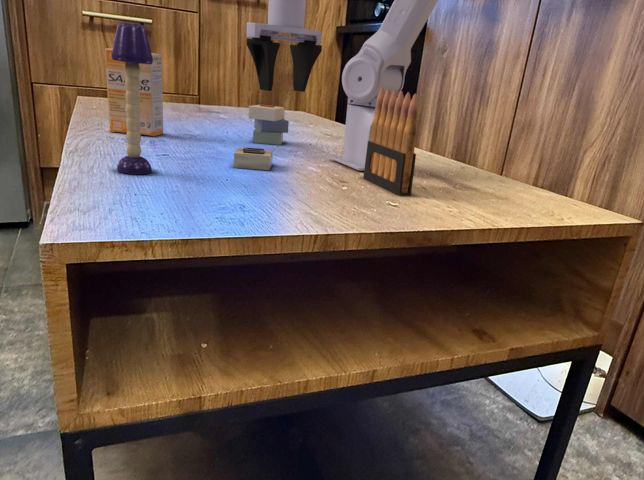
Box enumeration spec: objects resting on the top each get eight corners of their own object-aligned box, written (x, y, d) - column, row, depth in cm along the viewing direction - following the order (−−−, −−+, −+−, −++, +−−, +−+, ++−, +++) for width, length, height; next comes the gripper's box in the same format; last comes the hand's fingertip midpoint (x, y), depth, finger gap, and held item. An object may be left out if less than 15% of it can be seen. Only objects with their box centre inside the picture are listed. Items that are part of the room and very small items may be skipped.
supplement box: (108, 132, 104) (102, 47, 98) (121, 129, 108) (116, 48, 102) (153, 137, 103) (150, 52, 97) (164, 134, 107) (162, 52, 101)
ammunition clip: (362, 177, 85) (373, 86, 80) (374, 177, 86) (385, 87, 80) (398, 195, 76) (412, 93, 71) (411, 195, 77) (426, 94, 72)
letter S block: (269, 170, 84) (269, 154, 83) (233, 167, 84) (234, 150, 83) (272, 164, 89) (272, 148, 88) (238, 161, 88) (238, 145, 87)
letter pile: (286, 146, 106) (288, 108, 103) (247, 142, 106) (248, 105, 103) (288, 141, 112) (290, 105, 110) (251, 137, 112) (252, 102, 109)
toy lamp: (149, 167, 79) (143, 24, 71) (162, 174, 76) (157, 25, 68) (113, 168, 76) (102, 20, 69) (124, 175, 73) (114, 21, 66)
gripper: (301, -1, 99) (296, 89, 105) (233, -12, 89) (232, 87, 95) (333, 0, 95) (326, 93, 101) (266, -12, 85) (262, 91, 91)
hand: (283, 90), depth 97 cm, fingers open, 7 cm apart
